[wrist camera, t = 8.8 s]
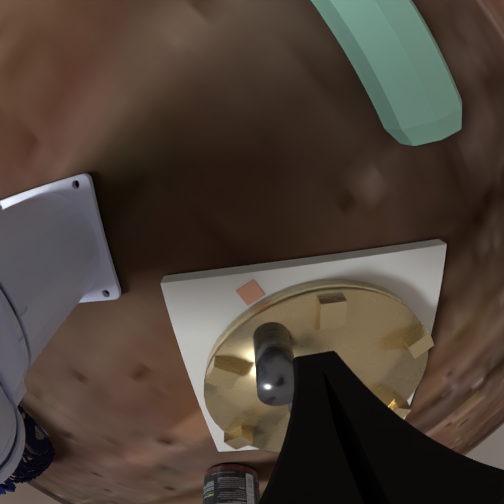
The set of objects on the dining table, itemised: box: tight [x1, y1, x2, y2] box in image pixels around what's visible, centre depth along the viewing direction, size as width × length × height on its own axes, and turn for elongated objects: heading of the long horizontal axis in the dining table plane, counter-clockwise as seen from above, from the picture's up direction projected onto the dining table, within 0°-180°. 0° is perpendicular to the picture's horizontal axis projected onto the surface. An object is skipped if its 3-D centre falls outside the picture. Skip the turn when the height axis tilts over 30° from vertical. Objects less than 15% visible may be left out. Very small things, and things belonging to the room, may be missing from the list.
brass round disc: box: [204, 279, 434, 452], centre depth 18 cm, size 16×16×6 cm
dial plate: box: [160, 239, 447, 452], centre depth 21 cm, size 18×18×1 cm
